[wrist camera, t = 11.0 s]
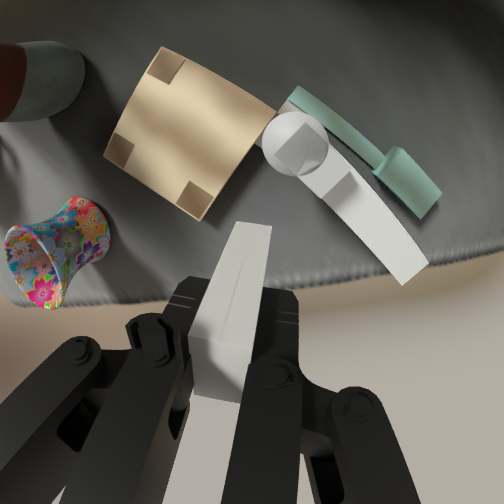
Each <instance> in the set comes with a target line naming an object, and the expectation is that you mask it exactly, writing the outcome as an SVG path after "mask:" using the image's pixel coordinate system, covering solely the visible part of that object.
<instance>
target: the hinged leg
mask: <svg viewBox="0 0 504 504" xmlns="http://www.w3.org/2000/svg"><path fill="white" fill-rule="evenodd" d="M262 149H263V153H264V155H265V158H266V159H267V161H268V162H269V164H270V165H271V166H272V167H273V168H274V169H276V170H277V171H279V172H281V173H283V174H286V175H289V176H297V177H298V178H299V179H300V180H302V181H303V182H304V183H305V184H306V185H307V186H308V187H309V188H310V189H311V190H312V191H313V192H314V193H315V194H316V195H317V196H318V197H319V198H320V199H321V198H322V199H323V200H324V201H325V202H326V203H327V204H328V205H329V206H330V207H331V208H332V209H333V210H334V211H335V212H336V213H337V214H338V215H339V216H340V217H341V218H342V220H343V221H344V222H345V223H346V224H347V225H348V226H349V227H350V228H351V229H352V230H353V231H354V232H355V233H356V234H357V235H358V236H359V238H360V239H361V240H362V241H363V242H364V243H365V244H366V245H367V246H368V247H369V248H370V250H371V251H372V252H373V253H374V254H375V255H376V256H377V257H378V259H379V260H380V261H381V262H382V263H383V264H384V265H385V267H386V268H387V269H388V270H389V271H390V272H391V274H392V275H393V276H394V277H395V278H396V279H397V280H398V282H399V283H400V284H401V285H402V286H403V285H404V284H405V283H406V282H407V281H409V280H410V279H411V278H412V277H413V276H414V275H415V274H417V273H418V272H419V271H420V270H421V269H423V268H424V267H425V266H426V265H427V264H428V263H429V262H428V261H427V259H426V258H425V256H424V255H423V253H422V252H421V251H420V249H419V248H418V246H417V245H416V244H415V242H414V241H413V239H412V238H411V237H410V235H409V234H408V233H407V231H406V230H405V229H404V227H403V226H402V225H401V224H400V222H399V221H398V220H397V218H396V217H395V216H394V215H393V213H392V212H391V211H390V210H389V208H388V207H387V206H386V205H385V204H384V202H383V201H382V200H381V199H380V198H379V196H378V195H377V194H376V193H375V192H374V191H373V189H372V188H371V187H370V186H369V185H368V184H367V182H366V181H365V180H364V179H363V178H362V177H361V176H360V175H359V174H358V172H357V171H356V170H355V169H354V168H353V167H352V166H351V165H350V164H349V163H348V162H347V161H346V160H345V159H344V158H343V156H342V155H341V154H340V153H339V152H338V151H337V150H336V149H335V148H334V147H333V146H332V145H331V144H330V143H329V140H328V136H327V133H326V131H325V129H324V127H323V126H322V124H321V123H320V122H319V121H318V120H316V119H315V118H314V117H312V116H310V115H308V114H306V113H302V112H287V113H284V114H281V115H279V116H277V117H276V118H274V119H273V120H272V121H271V122H270V123H269V124H268V125H267V127H266V129H265V131H264V134H263V138H262Z"/></svg>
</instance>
